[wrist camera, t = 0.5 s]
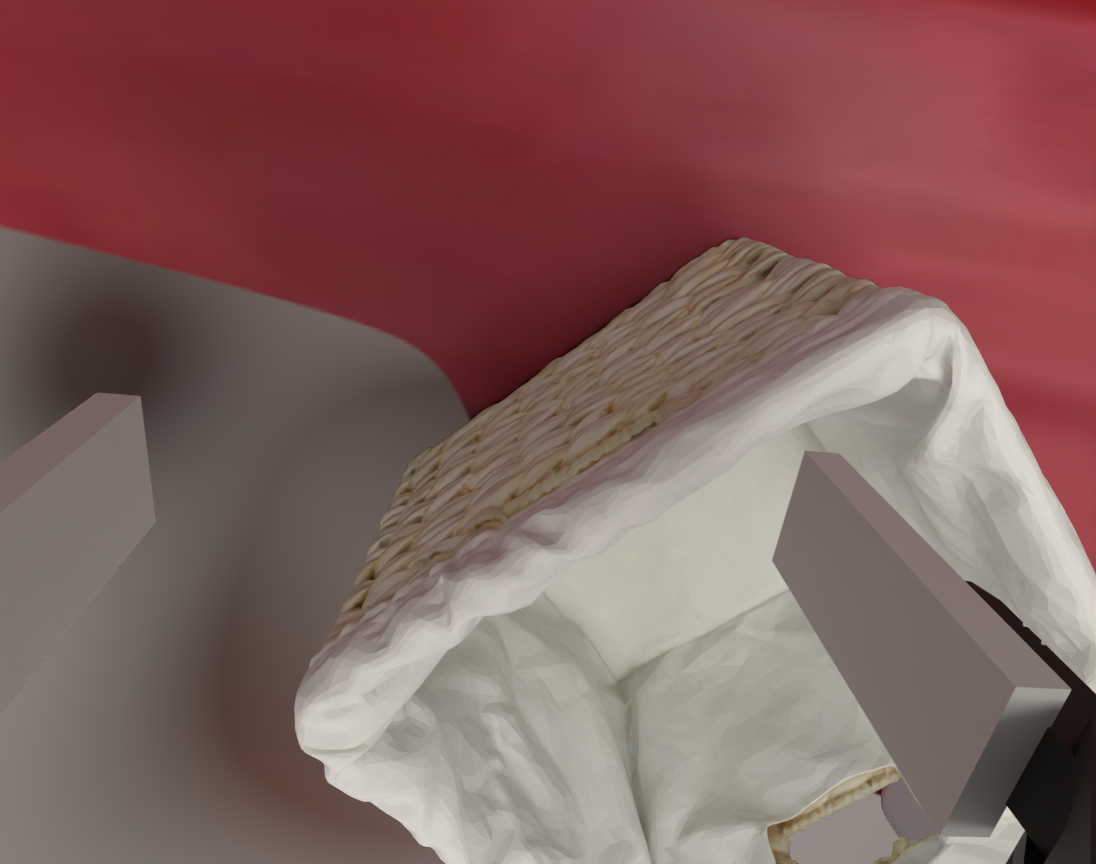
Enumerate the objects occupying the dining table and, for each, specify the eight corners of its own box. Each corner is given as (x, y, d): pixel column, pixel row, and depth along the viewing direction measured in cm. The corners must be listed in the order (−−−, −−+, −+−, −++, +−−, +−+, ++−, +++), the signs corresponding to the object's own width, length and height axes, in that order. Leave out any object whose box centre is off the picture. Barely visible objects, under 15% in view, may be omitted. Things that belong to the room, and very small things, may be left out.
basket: (356, 456, 44) (242, 745, 24) (735, 186, 39) (990, 267, 19) (600, 713, 54) (663, 1066, 34) (926, 525, 49) (1223, 810, 29)
